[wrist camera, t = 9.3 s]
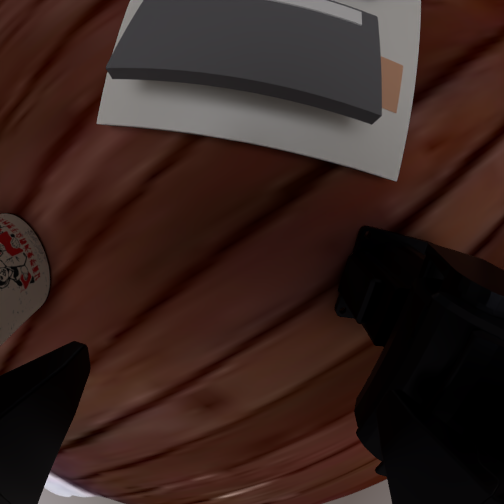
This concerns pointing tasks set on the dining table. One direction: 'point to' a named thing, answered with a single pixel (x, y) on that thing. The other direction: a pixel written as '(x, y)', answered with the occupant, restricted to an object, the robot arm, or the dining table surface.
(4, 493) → the robot arm
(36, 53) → the dining table surface
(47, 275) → the teacup with lid
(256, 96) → the switch panel
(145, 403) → the dining table surface
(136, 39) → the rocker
